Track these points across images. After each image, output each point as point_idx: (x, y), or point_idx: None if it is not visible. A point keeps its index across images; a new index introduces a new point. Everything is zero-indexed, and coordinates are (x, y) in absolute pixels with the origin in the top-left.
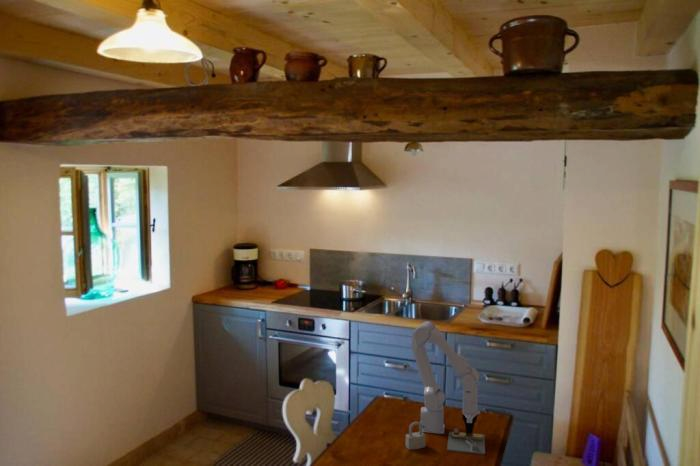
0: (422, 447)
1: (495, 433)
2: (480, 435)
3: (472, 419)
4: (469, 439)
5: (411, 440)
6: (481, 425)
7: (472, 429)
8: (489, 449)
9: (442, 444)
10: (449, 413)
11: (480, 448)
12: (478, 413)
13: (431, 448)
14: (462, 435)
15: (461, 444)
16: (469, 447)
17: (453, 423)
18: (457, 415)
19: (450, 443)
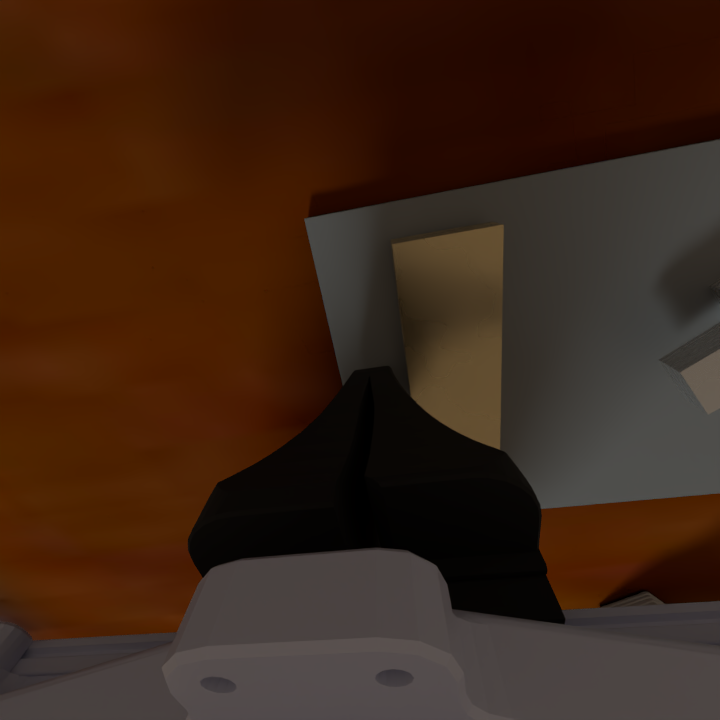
0: (661, 601)
1: (141, 76)
2: (438, 261)
3: (538, 545)
4: (706, 375)
5: None
6: (52, 301)
7: (402, 389)
8: (682, 75)
9: (590, 519)
10: (45, 551)
11: (718, 203)
12: (448, 619)
13: (663, 561)
14: (494, 444)
15: (615, 410)
16: (689, 332)
17: (190, 510)
18: (29, 508)
19: (602, 487)
